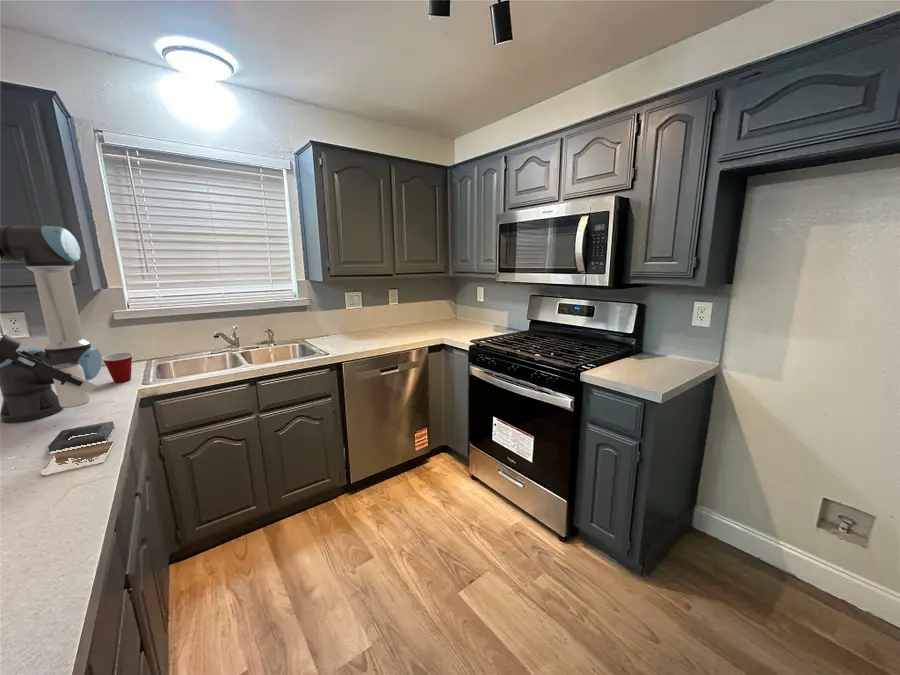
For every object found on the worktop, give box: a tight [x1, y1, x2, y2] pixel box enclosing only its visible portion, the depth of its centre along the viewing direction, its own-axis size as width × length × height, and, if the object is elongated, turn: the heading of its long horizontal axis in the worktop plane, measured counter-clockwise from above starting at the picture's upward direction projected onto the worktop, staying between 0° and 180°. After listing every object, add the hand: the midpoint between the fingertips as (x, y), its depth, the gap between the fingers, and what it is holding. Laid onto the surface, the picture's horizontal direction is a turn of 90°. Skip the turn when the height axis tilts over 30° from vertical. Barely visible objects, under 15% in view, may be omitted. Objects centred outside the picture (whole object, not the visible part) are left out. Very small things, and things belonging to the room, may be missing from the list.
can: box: [53, 362, 91, 409], centre depth 111 cm, size 6×6×12 cm
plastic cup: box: [101, 352, 134, 384], centre depth 168 cm, size 11×11×12 cm
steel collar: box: [47, 420, 115, 452], centre depth 114 cm, size 12×12×2 cm
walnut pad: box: [53, 440, 114, 465], centre depth 104 cm, size 12×12×1 cm
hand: (88, 386), depth 114 cm, fingers closed on can, 6 cm apart
